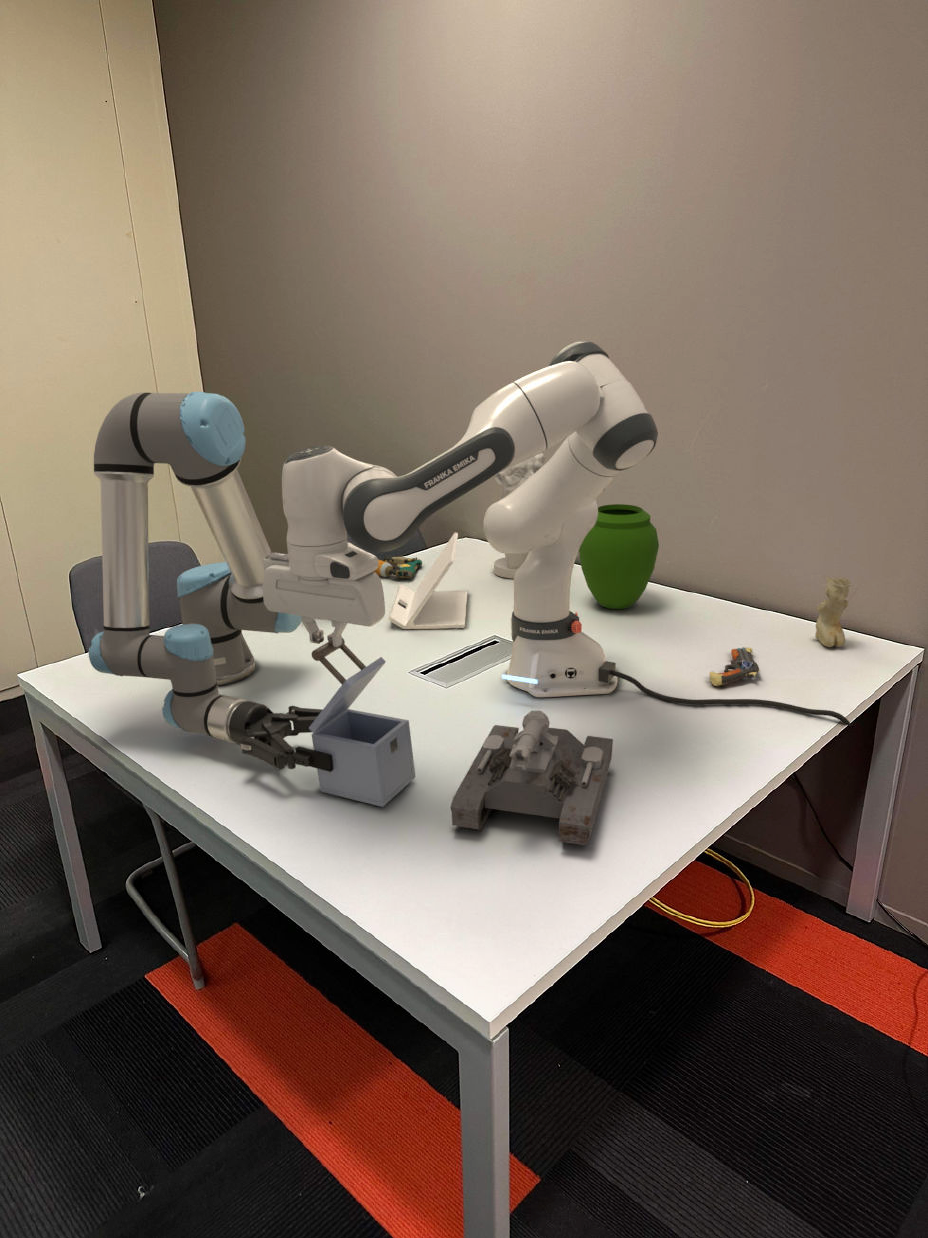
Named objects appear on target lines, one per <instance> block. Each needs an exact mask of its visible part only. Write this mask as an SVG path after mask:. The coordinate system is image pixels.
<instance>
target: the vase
mask: <svg viewBox="0 0 928 1238" xmlns="http://www.w3.org/2000/svg"><path fill="white" fill-rule="evenodd" d="M659 543H660V542H659V537H658V531H657V528H656V527H655V526H654V524H653V523H652V522H651V515H650V514H649V512H647V511H645V510H644V509H643V508H642V507H641V506H638V505H633V504H622V503H621V504H619V503H616V504H615V503H614V504H604V505H601V506H598V517H597V521H596V523H595V525H594V527H593V528H592V529H591V530H590V531H589V532H588V534H587V535H586V537H585V538H584V540H583V542H582V544H581V546H580V549H579V551H578V554H579V562H580V569H581V571H582V574H583V577H584V580H585V583H586V585H587V588H588V590H589V591H590V594H592V597H593V598H594V600H595V601H596V602H597V603H598V604H599V605H600V606H602V607H604V608H606V609H609V610H625V609H628V608H630V607H632V606H634V604H636V602H638V601H639V599H640V597H641V596H642V595H643V593H644V592H645V590H646V588H647V586H648V584H649V581H650V579H651V577H652V574H653V572H654V570H655V566H656V562H657V557H658V552H659V548H660V544H659Z"/></svg>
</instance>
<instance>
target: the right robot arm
mask: <svg viewBox="0 0 928 1238" xmlns="http://www.w3.org/2000/svg"><path fill="white" fill-rule="evenodd" d="M658 437H659V430H658V427H657V425H656V422H655V420H654V418H653V416H652V414H650V413H649V412H648V411H647V409H646V407H645V404H644V402H643V400H642V399H641V397H640V396H639V394H638V392H637V391H636V389H635V388H634V386H633V384H632V383H631V382H629V380H627V378H626V377H625V375H624V374H623V373H622V372H621V371H620V369H619V368H618V367H617V366H616V365H615V363H613V361H612V360H611V359H610V357H609V355H608V353H607V352H606V351H605V350H604V349H602V347H600V346H599V345H598V344H597V343H596V342H593V341H576V342H573V343H571V344H568V345H567V346H564V348H562V349H561V350H559V351H558V352H557V353H556V354H555V356H553V358H551V361H550V363H549V364H548V366H546V367H544V368H541V369H538V370H536V371H534V372H531V373H529V374H527V375H524V376H522V377H520V378H518V379H517V380H514V381H512V382H511V383H509V384H507V385H505V386H504V387H502V388H500V389H498V390H496V391H495V392H494V393H492V394H491V395H489V396H487V398H486V399H484V400H483V401H482V402H481V403H480V404H478V405H477V406H475V408H474V410H473V412H472V414H471V417H470V420H469V424H468V427H467V430H466V431H465V433H464V435H463V436H462V438H461V439H460V440H459V441H458V442H457V443H456V444H454V445H453V446H452V447H451V448H449V449H447V450H445V451H444V452H442V453H441V454H439V455H437V456H436V457H434V458H432V459H430V460H429V461H428V462H426V463H424V464H422V465H421V466H419V467H418V468H416V469H413V470H412V471H411V472H408V473H407V474H404V475H401V476H397V475H396V473H394V472H393V471H391V470H390V469H388V468H387V467H384V466H380V465H376V464H371V463H367V462H363V461H360V460H357V459H354V458H352V457H350V456H348V455H346V454H344V453H342V452H340V451H339V450H338V449H336V448H335V447H334V446H331V445H315V446H311V447H307V448H303V449H300V450H298V451H295V452H293V453H292V454H291V455H289V456H288V457H287V458H286V460H285V461H284V462H283V465H282V473H281V495H282V496H281V498H282V509H283V514H284V516H285V519H286V522H287V533H286V546H287V547H286V548H287V553H280V552H276V551H271V553H270V554H269V555H267V556H266V557H265V559H264V560H263V567H264V580H263V599H264V604H265V606H266V608H267V609H268V610H269V611H274V612H280V613H286V614H293V615H299V616H301V620H302V621H301V623H302V625H303V627H304V628H305V630H306V631H307V633H308V635H309V643H311V644H318V645H320V644H321V643H323V642H324V641H325V636H324V634H325V633H324V629H320V628H319V626H318V624H317V622H316V619H317V620H318V619H319V620H324V621H331V627H332V628H334V630H333V631H332V632H331V633H329V634H328V635H326V638H327V639H326V640H327V642H328V645H329V646H333V647H338V646H340V645H341V644H342V638H343V635H342V634H343V632H344V631H345V629H346V627H347V625H348V624H351V625H355V626H356V625H357V626H363V627H368V628H369V627H373V626H375V625H376V624H378V623H379V622H381V621H382V620H383V618H385V615H386V601H385V593H384V587H383V582H382V580H381V576H380V575H377V574H376V573H375V572H373V571H374V570H376V569H377V568H378V560H379V558H378V557H377V556H376V555H375V554H373V553H370V552H375V553H386V552H391V551H394V550H397V549H398V548H401V547H403V546H404V545H405V544H406V543H408V541H409V540H411V538H412V537H413V536H414V535H415V534H416V532H417V531H418V530H419V528H420V527H421V526H422V525H423V523H424V522H425V521H426V520H427V519H428V518H429V517H431V516H433V514H435V513H437V512H438V511H440V510H441V509H442V508H444V507H447V506H448V505H449V504H451V503H452V502H454V501H456V500H458V499H459V498H461V497H463V496H464V495H465V494H467V493H469V492H470V491H472V490H474V489H475V488H477V487H478V486H480V485H482V484H483V483H485V482H487V481H488V480H490V479H492V477H495V475H497V474H499V473H501V472H503V471H505V470H506V469H509V468H511V467H513V466H515V465H517V464H519V463H522V462H524V461H526V460H528V459H530V458H532V457H534V456H536V455H538V454H540V453H543V452H545V451H547V450H549V449H550V448H552V447H554V446H556V445H558V444H559V443H561V442H562V441H563V442H562V443H561V444H560V445H559V447H558V448H557V450H556V451H555V452H554V454H552V456H551V457H550V458H549V459H548V460H547V461H546V462H545V464H543V465H544V466H542V467H541V468H540V469H539V470H538V471H537V472H535V473H534V474H533V475H532V476H531V477H529V478H528V479H527V480H526V481H525V482H523V483H522V484H521V485H520V486H519V487H518V488H516V489H515V490H514V491H513V492H511V493H510V494H509V495H507V496H506V497H504V498H503V499H501V500H500V499H499V500H497V501H496V502H494V503H492V504H493V505H492V504H491V505H490V506H488V508H487V509H486V511H485V513H484V516H483V522H482V523H483V525H482V526H483V527H482V528H483V533H484V536H485V539H486V540H487V543H488V544H489V545H490V546H491V548H492V549H493V550H495V551H496V552H497V553H500V554H505V553H526V552H529V554H528V556H527V558H526V560H525V561H524V563H523V564H522V565H521V566H520V567H519V569H518V570H517V572H516V573H515V576H514V578H513V611H512V612H511V618H510V635H511V640H512V645H511V646H512V647H511V655H510V660H509V665H508V669H507V672H506V674H501V679H502V680H506V681H507V683H509V684H510V685H511V686H513V687H515V688H517V689H519V690H522V691H525V692H527V693H529V694H530V695H531V696H533V697H535V698H556V697H572V696H573V697H574V696H588V695H589V696H590V695H591V696H592V695H607V694H611V693H612V692H613V691H615V690H616V688H617V686H618V678H619V679H622V680H625V681H627V682H629V683H631V684H633V685H634V686H635V687H637V689H639V690H640V691H641V692H642V693H644V694H646V695H648V696H651V697H653V698H655V699H658V700H661V701H664V702H670V703H675V704H682V705H693V706H704V705H757V706H758V705H759V706H768V707H774V708H775V707H776V708H778V709H785V710H789V711H792V712H797V713H802V714H806V715H814V716H827V717H832V718H835V719H837V720H838V721H840V722H841V723H842V724H843V725H844V726H848V727H850V726H852V724H851V722H850V720H848V718H846V717H845V716H844V715H843V714H842V713H839V712H837V711H834V710H830V709H829V710H828V709H816V708H815V709H814V708H807V707H804V706H803V707H802V706H799V705H794V704H790V703H784V702H781V701H774V700H768V699H766V700H765V699H756V698H732V699H731V698H708V699H707V698H706V699H705V698H704V699H691V698H681V697H676V696H675V697H674V696H669V695H665V694H661V693H658V692H657V691H656V692H655V691H653V690H651V689H649V688H647V687H646V686H644V685H643V684H642V683H641V682H640V681H639V680H637V679H636V678H634V677H633V676H630V675H628V674H626V673H622V672H620V671H617V670H616V665H617V663H616V662H613V661H609V660H607V658H606V654H605V651H604V648H603V647H602V645H601V644H600V643H599V642H598V641H596V640H595V639H593V638H591V637H590V636H589V635H587V634H586V633H585V632H583V631H582V630H583V626H582V625H583V624H582V622H581V621H580V616H579V615H578V612H577V611H575V613H574V612H573V611H571V610H570V600H571V581H572V574H573V569H574V565H575V563H576V559H577V557H578V554H579V549H580V546H581V544H582V542H583V540H584V538H585V537H586V535H587V534H588V532H589V531H590V530H591V529H592V528H593V527H594V525H595V523H596V521H597V517H598V507H599V506H598V503H597V499H598V498H599V497H600V496H601V495H602V494H603V492H604V491H605V490H606V489H607V488H608V487H609V486H610V485H611V483H612V482H613V481H614V480H615V479H616V478H617V476H618V475H619V474H620V472H622V471H625V470H628V469H630V468H632V467H634V466H636V465H638V464H639V463H641V462H642V461H643V460H645V459H646V458H647V457H648V456H649V455H650V454H651V453H652V452H653V450H654V449H655V447H656V445H657V441H658ZM348 536H349V537H350V539H351V540H352V541H353V542H354V543H355V544H356V545H358V546H359V547H358V546H356V545H354V544H353V543H351V542H350V541H348ZM366 550H367V551H366ZM368 551H370V552H368ZM269 557H270V558H269Z"/></svg>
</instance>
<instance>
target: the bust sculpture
mask: <svg viewBox="0 0 928 1238" xmlns="http://www.w3.org/2000/svg"><path fill="white" fill-rule="evenodd" d="M545 461H546V456H545V455H544V454H543V452H542V453H540V454H538V455H536V456H534V457H532V458H530V459H528V460H526V461H524V462H522V463H519V464H517V465H515V466H513V467H511V468H509V469H506V470H505V471H503V472H501V473H499V474H497V475H495V476H494V480H495V482H496V484H497V486H498V487H501V488H502V494H501V497H500V499H499V500H501V499H503V498H504V497H506V496H507V495H509V494H510V493H511V492H513V491H514V490H515V489H516V488H518V487H519V486H520V485H521V484H522V483H523V482H525V481H526V480H527V479H528V478H529V477H531V476H532V475H533V474H534V473H535V472H537V471H538V470H539V469H540V468H541V467H542V466H544V465H545V464H544V462H545ZM493 504H494V503H492V504H491V505H493ZM528 554H529V552H526V553H504V557H502V558H498V559H496V560H495V561H494V562H493V573H494V574H495V575H496V576H497V577H500V578H506V579H514V576H515V573H516V572H517V570H518V569H519V567H520V566H521V565H522V564H523V563H524V561H525V560H526V558H527V556H528Z"/></svg>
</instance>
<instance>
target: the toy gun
mask: <svg viewBox="0 0 928 1238" xmlns="http://www.w3.org/2000/svg"><path fill="white" fill-rule="evenodd" d="M730 652H731V657H732V659H733V660H730V664H726V665H724V670H723V672H715V671H714V670H713V671H710V672H709V680H710V683H711V684H712V685H713V686H714V687H719V686H722V685H726V684H729V683H733V682H735V681H739V680H743V679H746V678H748V677H750V676H754V677H756V676H757V674H758V672H761V669H760V667H759V665H758V663H757V662H756V661H755V659H754V657H753V655H752V654H753V653H754V649H753V648H752V647H744V646H743V647H741V648H740V647H737V648H731V651H730Z"/></svg>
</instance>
